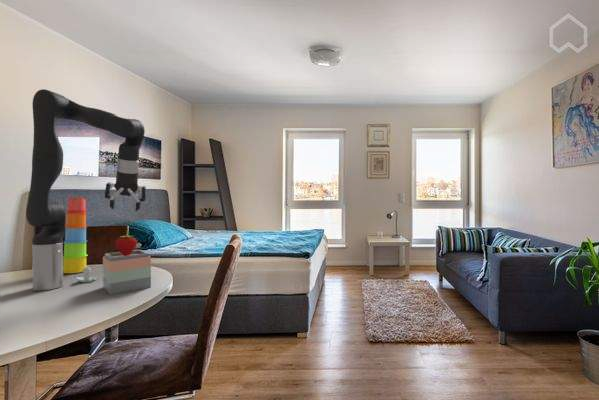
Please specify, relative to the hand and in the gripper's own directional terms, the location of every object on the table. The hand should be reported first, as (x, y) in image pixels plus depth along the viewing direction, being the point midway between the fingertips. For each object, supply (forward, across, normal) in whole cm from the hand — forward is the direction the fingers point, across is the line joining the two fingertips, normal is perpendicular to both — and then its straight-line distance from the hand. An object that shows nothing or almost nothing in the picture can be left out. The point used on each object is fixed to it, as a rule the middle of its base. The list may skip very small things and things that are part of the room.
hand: (124, 209), depth 127 cm
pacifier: (+34, +12, -1) cm, 36 cm away
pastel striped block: (+27, -4, +14) cm, 31 cm away
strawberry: (+16, -3, +10) cm, 19 cm away
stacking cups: (+40, +22, -22) cm, 50 cm away
